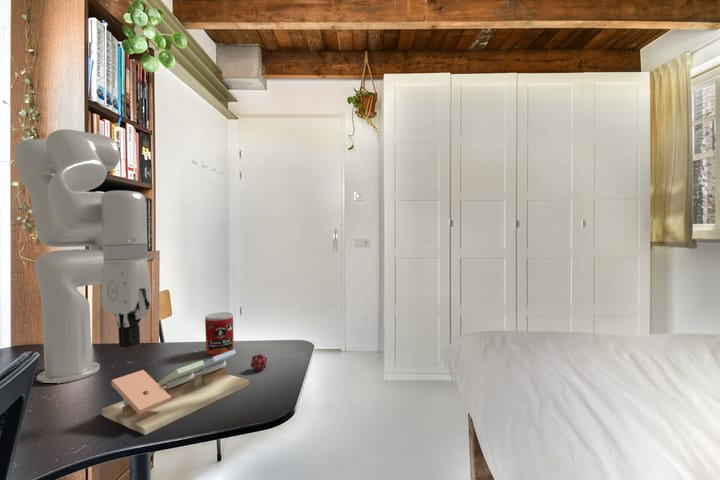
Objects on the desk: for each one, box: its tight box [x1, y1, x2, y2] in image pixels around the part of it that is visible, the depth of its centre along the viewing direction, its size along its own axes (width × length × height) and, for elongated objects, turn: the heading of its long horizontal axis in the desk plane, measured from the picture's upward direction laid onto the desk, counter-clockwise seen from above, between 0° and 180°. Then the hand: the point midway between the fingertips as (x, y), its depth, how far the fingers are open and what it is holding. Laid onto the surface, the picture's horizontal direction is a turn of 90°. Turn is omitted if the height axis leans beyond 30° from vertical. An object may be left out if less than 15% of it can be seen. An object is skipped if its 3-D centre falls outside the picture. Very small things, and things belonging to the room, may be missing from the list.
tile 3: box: [192, 348, 237, 375], centre depth 88 cm, size 10×6×2 cm, turn 58°
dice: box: [250, 353, 268, 371], centre depth 96 cm, size 4×4×4 cm
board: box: [100, 366, 250, 436], centre depth 80 cm, size 15×24×3 cm, turn 149°
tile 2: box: [156, 359, 205, 389], centre depth 80 cm, size 10×6×2 cm, turn 58°
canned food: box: [204, 311, 235, 357], centre depth 111 cm, size 8×8×11 cm
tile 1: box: [110, 369, 171, 415], centre depth 73 cm, size 10×6×2 cm, turn 60°
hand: (129, 345), depth 75 cm, fingers closed
